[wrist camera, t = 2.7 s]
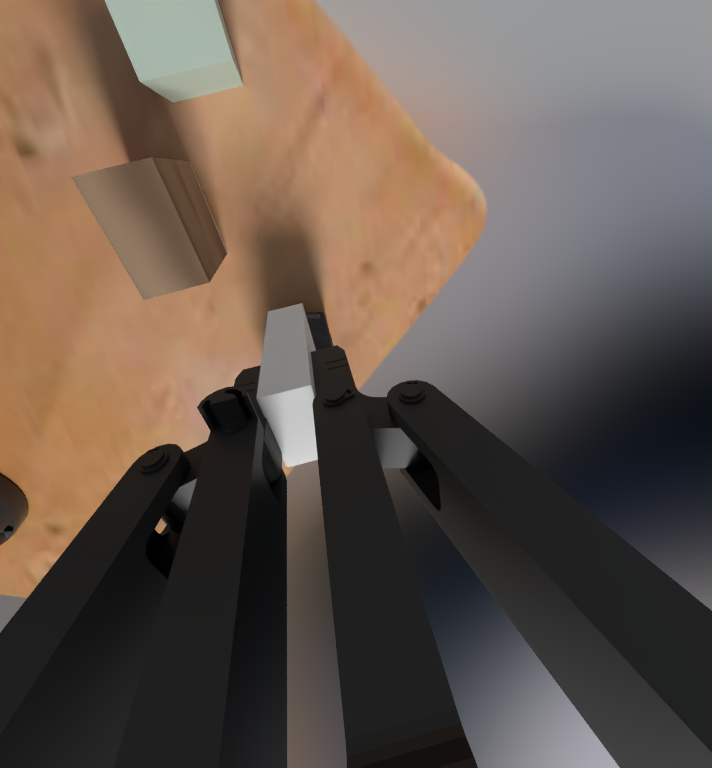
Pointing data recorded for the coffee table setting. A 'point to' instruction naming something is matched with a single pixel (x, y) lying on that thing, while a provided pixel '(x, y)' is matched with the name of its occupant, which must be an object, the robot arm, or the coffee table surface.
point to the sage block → (177, 46)
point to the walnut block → (156, 223)
